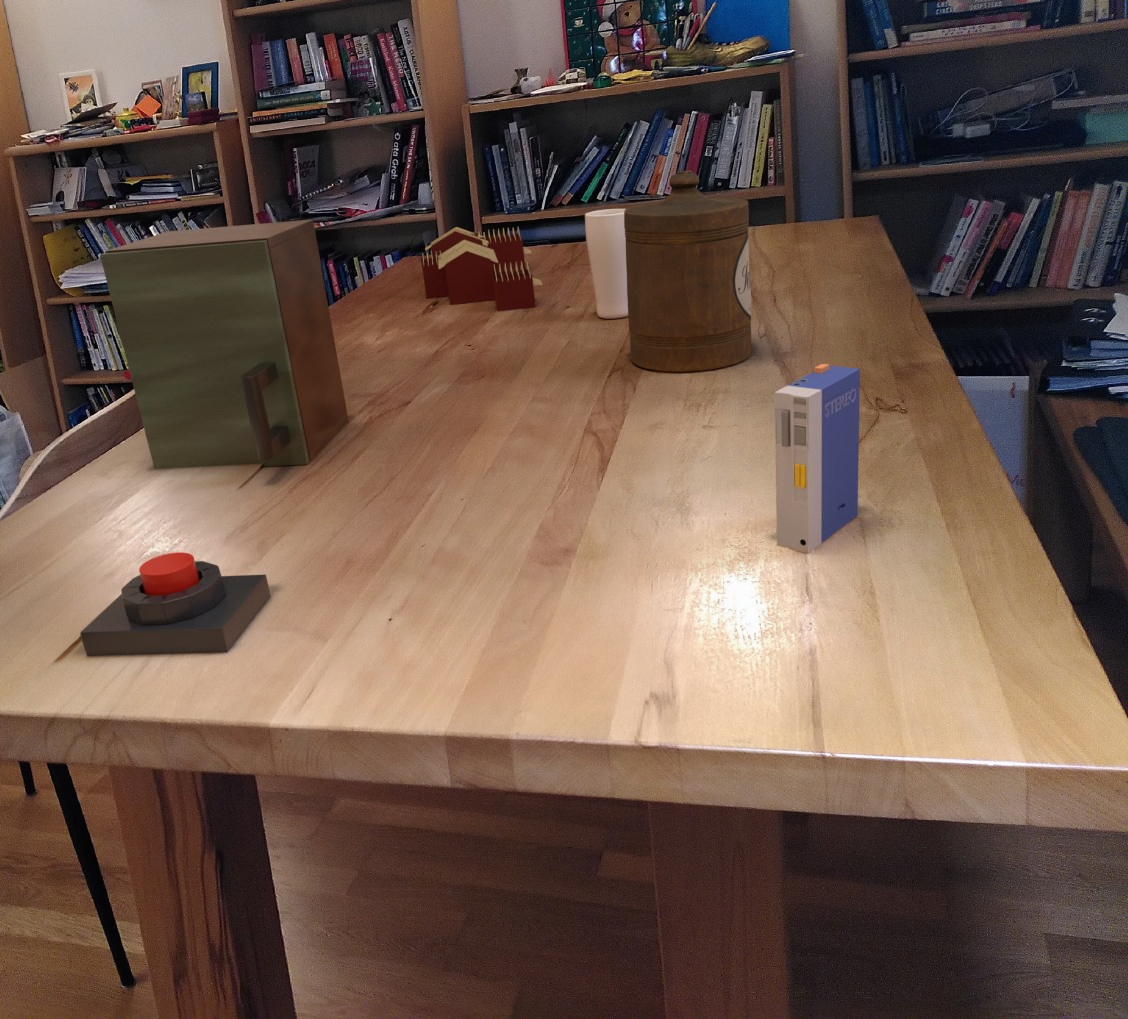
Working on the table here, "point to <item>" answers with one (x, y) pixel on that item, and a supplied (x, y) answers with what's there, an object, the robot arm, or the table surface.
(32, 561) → the table surface
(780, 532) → the walkman
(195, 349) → the cupboard door
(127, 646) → the button block
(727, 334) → the wooden container
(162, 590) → the red button
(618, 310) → the drinking glass
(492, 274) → the toy houses
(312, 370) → the cupboard
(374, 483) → the table surface
